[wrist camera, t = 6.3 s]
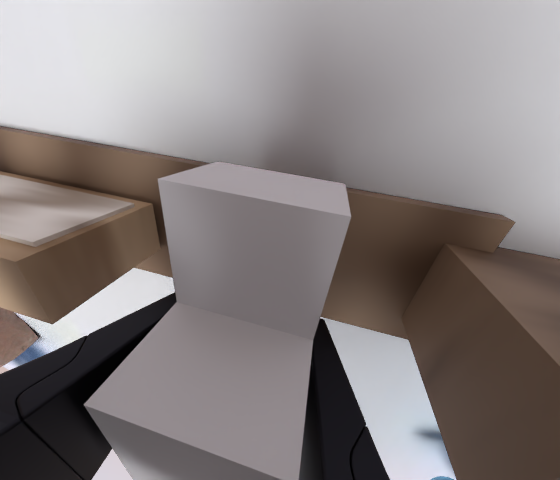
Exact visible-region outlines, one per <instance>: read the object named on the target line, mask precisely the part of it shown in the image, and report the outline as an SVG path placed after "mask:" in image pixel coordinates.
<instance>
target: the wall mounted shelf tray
mask: <svg viewBox="0 0 560 480" xmlns="http://www.w3.org/2000/svg"><path fill="white" fill-rule="evenodd" d="M159 249H161V248H160V243H159V237H158V232H157V226H156V221H155V215H154V210H153V204H151V203H147V202H142V201H137V200H133V199H128V198H123V197H119V196H114V195H109V194H105V193H100V192H95V191H91V190H86V189H81V188H77V187H72V186H67V185H62V184H58V183H53V182H48V181H44V180H39V179H34V178H30V177H25V176H20V175H16V174H11V173H6V172H2V171H0V307H1V308H4V309H7V310H10V311H13V312H16V313H19V314H22V315H25V316H28V317H32V318H35V319H38V320H41V321H44V322H47V323H50V324H54V323H55V322H57V321H58V320H60V319H61V318H62V317H64V316H65V315H67V314H68V313H70V312H71V311H72V310H74V309H75V308H77V307H78V306H80V305H81V304H82V303H84V302H85V301H87V300H88V299H90V298H91V297H92V296H94V295H95V294H97V293H98V292H99V291H101V290H102V289H104V288H105V287H107V286H108V285H109V284H111V283H112V282H114V281H115V280H117V279H118V278H119V277H121V276H122V275H124V274H125V273H127V272H128V271H129V270H131V269H132V268H134V267H135V266H137V265H138V264H139V263H141V262H142V261H144V260H145V259H147V258H148V257H149V256H151V255H152V254H154V253H155V252H157V251H158V250H159Z"/></svg>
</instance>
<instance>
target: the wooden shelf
mask: <svg viewBox="0 0 560 480" xmlns="http://www.w3.org/2000/svg"><path fill="white" fill-rule="evenodd" d="M207 164H210V163H205V162H199V161H193V160H188V159H182V158H176V157H171V156H165V155H160V154H154V153H148V152H143V151H137V150H131V149H126V148H120V147H114V146H109V145H103V144H97V143H92V142H86V141H81V140H75V139H69V138H64V137H58V136H52V135H47V134H41V133H35V132H30V131H24V130H19V129H13V128H7V127H2V126H0V171H2V172H6V173H11V174H16V175H20V176H25V177H30V178H34V179H39V180H44V181H48V182H53V183H58V184H62V185H67V186H72V187H77V188H81V189H86V190H91V191H95V192H100V193H105V194H109V195H114V196H119V197H123V198H128V199H133V200H137V201H142V202H147V203H151V204H153V210H154V215H155V221H156V226H157V232H158V237H159V243H160V248H161V249H159V250H158V251H157V252H155V253H154V254H152V255H151V256H149V257H148V258H147V259H145V260H144V261H142V262H141V263H139V264H138V265H137V266H135V267H134V268H138V269H142V270H146V271H149V272H153V273H157V274H161V275H165V276H168V277H172V278H173V275H172V268H171V262H170V255H169V249H168V243H167V236H166V230H165V223H164V217H163V211H162V204H161V198H160V191H159V185H158V179H159V178H162V177H166V176H169V175H173V174H176V173H179V172H183V171H186V170H190V169H193V168H197V167H200V166H203V165H207ZM346 190H347V196H348V201H349V207H350V213H351V219H350V222H349V226H348V229H347V232H346V235H345V239H344V242H343V245H342V248H341V252H340V255H339V258H338V261H337V265H336V268H335V271H334V274H333V277H332V281H331V284H330V287H329V290H328V294H327V297H326V300H325V303H324V307H323V310H322V313H321V316H320V317H324V318H328V319H332V320H335V321H339V322H343V323H347V324H351V325H354V326H358V327H362V328H366V329H370V330H373V331H377V332H381V333H385V334H389V335H392V336H396V337H400V338H404V339H408V340H409V342H410V345H411V348H412V351H413V354H414V357H415V360H416V363H417V366H418V369H419V371H420V374H421V377H422V380H423V383H424V386H425V389H426V392H427V395H428V398H429V401H430V404H431V406H432V409H433V412H434V415H435V418H436V421H437V424H438V427H439V430H440V433H441V436H442V439H443V441H444V444H445V447H446V450H447V453H448V456H449V459H450V462H451V465H452V468H453V471H454V473H455V476H456V479H457V480H560V259H555V258H550V257H545V256H540V255H534V254H529V253H524V252H519V251H514V250H509V249H504V248H499V247H498V246H499V244H500V243H501V241H502V240H503V239H504V237H505V236H506V235H507V233H508V232H509V230H510V229H511V228H512V226H513V225H514V224H515V222H514V221H512V220H510V219H508V218H506V217H505V216H503V215H498V214H492V213H487V212H481V211H475V210H470V209H464V208H458V207H453V206H447V205H441V204H436V203H430V202H425V201H419V200H413V199H408V198H402V197H396V196H391V195H385V194H379V193H374V192H368V191H363V190H357V189H351V188H346Z"/></svg>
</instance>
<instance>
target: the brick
mask: <svg viewBox="0 0 560 480" xmlns="http://www.w3.org/2000/svg"><path fill="white" fill-rule="evenodd" d="M37 339H38V337H37V335H36V334H35V333H34V332H33V331H32V330H31V329H30V327H29V326H28V325H27V324H26V323H25V322H24V321H23V320H22V319H20V318H19V317H17V316H16V314H15V313H14V312H13V311H10V310H7V309H4V308H1V307H0V367H1V366H3V365H5V364H7V363H9V362H10V361H12V360H14V359H15V358H16V357H18V356H19V355H20V354H21V353H23V352H24V351H25V350H26V349H27V348H28V347H30V346H31V345H32V344H33V343H34V342H35V341H36V340H37Z"/></svg>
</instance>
